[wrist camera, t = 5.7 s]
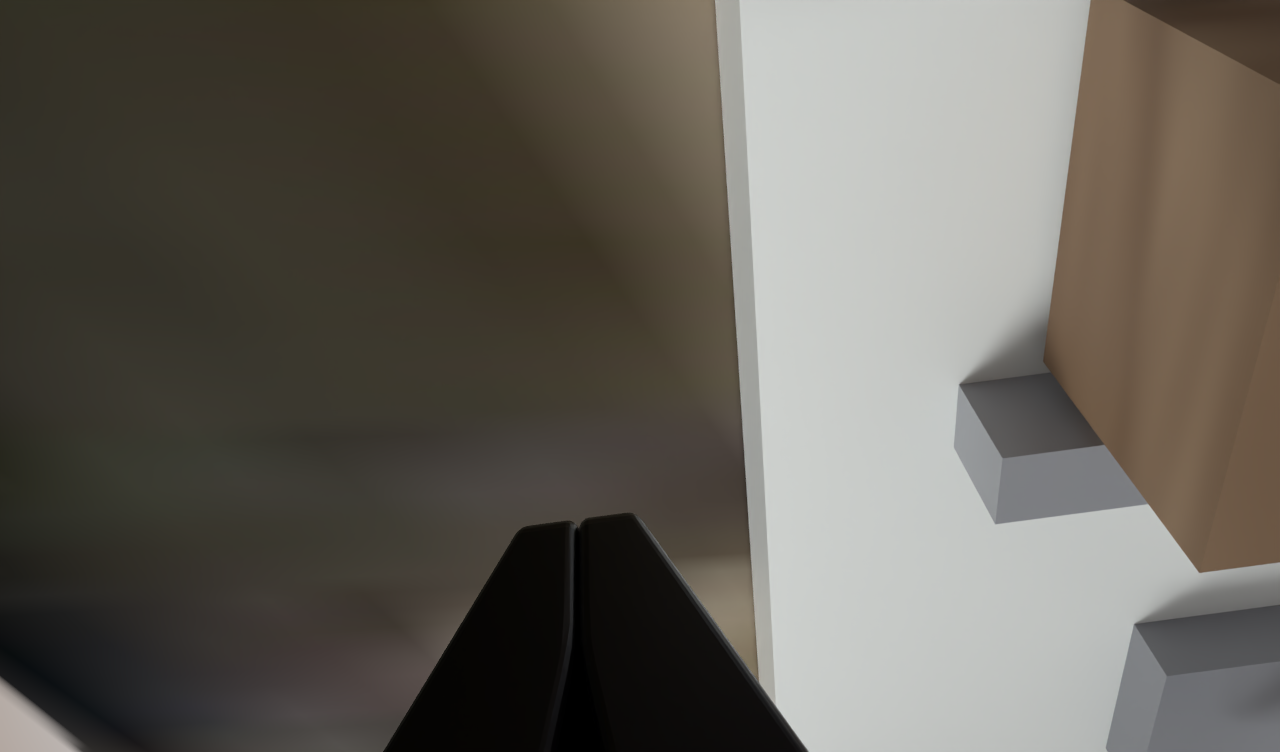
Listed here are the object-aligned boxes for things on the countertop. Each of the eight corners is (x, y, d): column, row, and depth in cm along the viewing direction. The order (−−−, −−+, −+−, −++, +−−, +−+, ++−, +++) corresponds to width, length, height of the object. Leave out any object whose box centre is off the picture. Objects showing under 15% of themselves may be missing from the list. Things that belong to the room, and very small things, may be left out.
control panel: (778, 980, 25) (813, 1180, 22) (702, -203, 11) (770, -156, 8) (1356, 904, 25) (1480, 1091, 22) (2009, -371, 11) (2643, -398, 8)
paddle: (1043, 361, 12) (1199, 573, 10) (1092, -17, 10) (1324, 108, 7) (1140, 348, 12) (1328, 555, 10) (1215, -33, 10) (1498, 85, 7)
